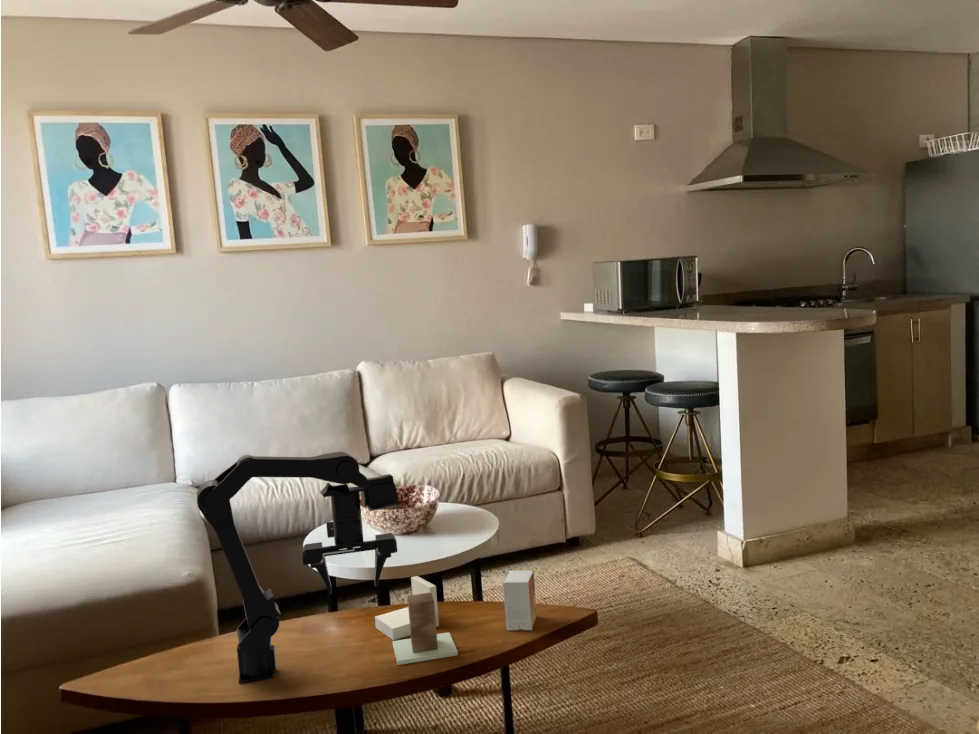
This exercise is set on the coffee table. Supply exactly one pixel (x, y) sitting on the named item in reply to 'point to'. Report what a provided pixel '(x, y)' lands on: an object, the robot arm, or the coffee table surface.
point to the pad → (407, 656)
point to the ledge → (405, 612)
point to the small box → (520, 600)
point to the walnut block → (422, 622)
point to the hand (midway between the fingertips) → (353, 589)
